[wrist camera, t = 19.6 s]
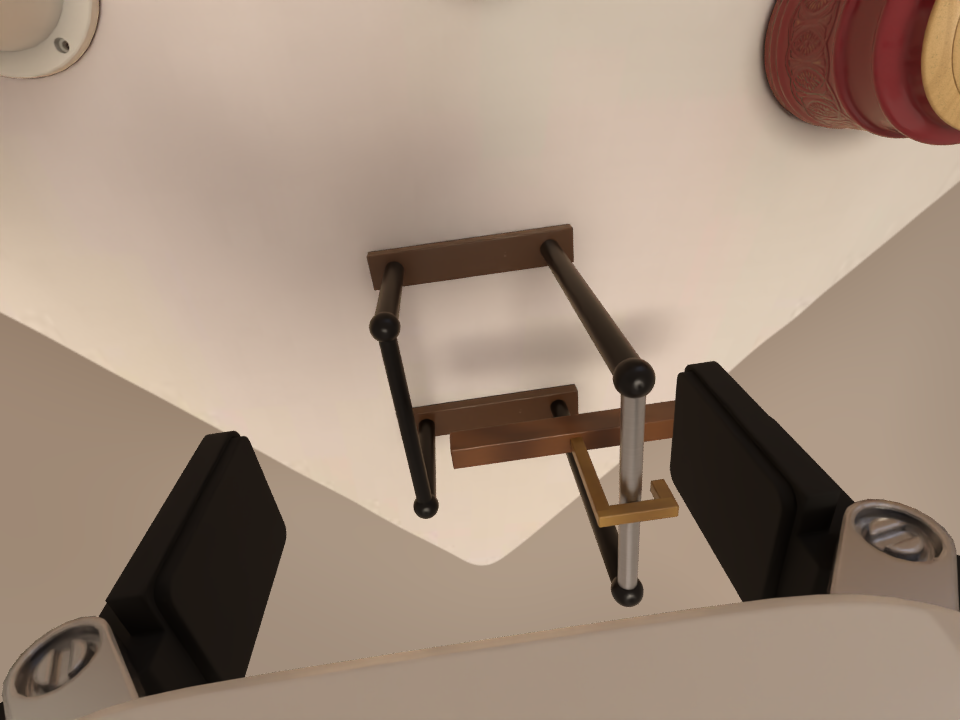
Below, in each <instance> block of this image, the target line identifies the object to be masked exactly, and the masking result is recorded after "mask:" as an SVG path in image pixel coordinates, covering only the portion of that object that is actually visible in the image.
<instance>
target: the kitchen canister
mask: <svg viewBox="0 0 960 720" xmlns="http://www.w3.org/2000/svg"><path fill="white" fill-rule="evenodd" d="M764 58H765V70H766V75H767V79H768V82H769V85H770V88H771V90H772V92H773V94H774V96H775V97H776V99H777V100H778V102H779V103H780V104H781V105H782V106H783V107H784V108H785V109H786V110H787V111H789V112H790V113H791V114H793V115H795V116H796V117H798V118H799V119H801V120H803V121H805V122H807V123H809V124H812V125H815V126H820V127H826V128H834V129H842V128H850V129H857V130H863V131H868V132H870V133H873V134H875V135H878V136H882V137H887V138H910V139H913V140H915V141H918V142H921V143H925V144H930V145H954V144H960V0H777V2H776V4H775V6H774V9H773V12H772V15H771V18H770V21H769V25H768V29H767V34H766V40H765V52H764Z"/></svg>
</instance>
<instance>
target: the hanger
mask: <svg viewBox="0 0 960 720" xmlns="http://www.w3.org/2000/svg"><path fill="white" fill-rule="evenodd" d="M674 411H675V400H674V401H667V402H660V403H653V404H646V405H645V426H644V442H647V441H653V440H661V439H667V438H672V436H673V423H674ZM620 414H621V408H618V409H611V410H604V411H597V412H590V413H583V414H576V415H569V416H562V417H555V418H548V419H541V420H534V421H527V422H520V423H513V424H506V425H499V426H492V427H485V428H478V429H471V430H463V431H456V432H450V449H451V456H452V461H453V467H454V469H457V468H464V467H471V466H478V465H485V464H492V463H499V462H506V461H513V460H520V459H527V458H534V457H541V456H548V455H555V454H562V453H569V452H572V453H573V456H574V459H575V462H576V464H577V467H578V470H579V473H580V476H581V478H582V481H583V484H584V487H585V490H586V492H587V495H588V498H589V501H590V504H591V506H592V509H593V512H594V515H595V518H596V521H597V523H598V526H599V527H607V526H614V525H621V524H628V523H635V522H641V521H648V520H655V519H662V518H670V517H676V516H678V510H679V506H678V504H677V502H676V500H675V498H674V496H673V494H672V493H671V491H670V489H669V488H668V485H667V484H666V482H665V480H664V479H660V480H653V481H651V488H650V491H651V493H652V495H653V497H654V499H652V500H645V501H638V502H631V503H624V504H617V505H610V506H609V504H608V502H607V499H606V497H605V494H604V492H603V489H602V487H601V484H600V482H599V479H598V476H597V474H596V471H595V469H594V466H593V464H592V461H591V459H590V456H589V454H588V451H587V450H590V449H598V448H605V447H612V446H619V445H620Z"/></svg>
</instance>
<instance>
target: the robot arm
mask: <svg viewBox="0 0 960 720" xmlns="http://www.w3.org/2000/svg"><path fill="white" fill-rule="evenodd" d="M98 14H99V0H0V76H4V77H10V78H36V77H44V76H50V75H52V74H55V73H58V72H60V71H63V70H65V69H66V68H68V67H69V66H71V65H72V64H73V63H75V62H76V61H77V60H78V59H79V58H80V57H81V56H82V54H83V53H84V52H85V51H86V49H87V48H88V47H89V44H90V42H91V40H92V37H93V35H94V33H95V31H96V25H97V20H98ZM66 43H68V44H69V49H68V48H67V46H66ZM670 471H671V477H672V480H673V483H674V485H675V486H676V488H677V490H678V492H679V493H680V495H681V496H682V498H683V500H684V502H685V503H686V505H687V507H688V509H689V510H690V512H691V514H692V516H693V517H694V519H695V521H696V523H697V524H698V526H699V528H700V529H701V531H702V533H703V534H704V536H705V538H706V539H707V541H708V543H709V545H710V546H711V548H712V550H713V552H714V553H715V555H716V557H717V559H718V560H719V562H720V564H721V565H722V567H723V569H724V571H725V572H726V574H727V576H728V578H729V579H730V581H731V583H732V584H733V586H734V588H735V589H736V591H737V593H738V595H739V596H740V598H741V600H742V602H740V603H732V604H725V605H717V606H710V607H701V608H694V609H687V610H680V611H673V612H666V613H660V614H653V615H646V616H639V617H632V618H625V619H618V620H612V621H604V622H598V623H591V624H585V625H577V626H570V627H564V628H557V629H550V630H544V631H537V632H530V633H524V634H517V635H510V636H504V637H497V638H491V639H484V640H477V641H471V642H464V643H458V644H451V645H445V646H439V647H432V648H425V649H419V650H412V651H406V652H399V653H393V654H387V655H380V656H374V657H367V658H361V659H355V660H348V661H342V662H336V663H330V664H324V665H317V666H311V667H304V668H298V669H292V670H285V671H279V672H272V673H267V674H261V675H255V676H249V677H245V674H246V671H247V668H248V664H249V661H250V658H251V654H252V651H253V648H254V644H255V641H256V638H257V634H258V631H259V628H260V625H261V621H262V618H263V614H264V611H265V608H266V605H267V601H268V597H269V595H270V591H271V588H272V585H273V581H274V578H275V575H276V571H277V568H278V564H279V561H280V558H281V555H282V551H283V548H284V545H285V541H286V527H285V524H284V521H283V519H282V516H281V514H280V512H279V510H278V507H277V504H276V502H275V500H274V497H273V495H272V493H271V490H270V488H269V486H268V483H267V481H266V479H265V476H264V474H263V471H262V469H261V467H260V464H259V462H258V460H257V457H256V455H255V452H254V450H253V448H252V445H251V443H250V441H249V439H248V438H247V437H246V436H240V435H239V433H237V432H236V431H229V432H222V433H215V434H209V435H206V436H205V437H204V438H203V440H202V441H201V443H200V445H199V446H198V448H197V450H196V451H195V453H194V455H193V456H192V458H191V460H190V461H189V463H188V465H187V466H186V468H185V470H184V471H183V473H182V474H181V476H180V478H179V479H178V481H177V483H176V485H175V486H174V488H173V489H172V491H171V493H170V494H169V496H168V498H167V499H166V501H165V503H164V504H163V506H162V508H161V509H160V511H159V513H158V514H157V516H156V518H155V519H154V521H153V523H152V524H151V526H150V527H149V529H148V531H147V532H146V534H145V536H144V537H143V539H142V541H141V542H140V544H139V546H138V547H137V549H136V551H135V553H134V554H133V556H132V557H131V559H130V561H129V562H128V564H127V566H126V567H125V569H124V571H123V572H122V574H121V576H120V577H119V579H118V581H117V582H116V584H115V585H114V587H113V589H112V590H111V592H110V594H109V595H108V597H107V599H106V602H107V604H106V605H105V607H104V609H103V610H102V612H101V614H100V615H99V617H96V616H89V617H80V618H77V619H74V620H71V621H68V622H65V623H64V624H62V625H60V626H58V627H56V628H54V629H52V630H50V631H49V632H47V633H46V634H45V635H43V636H42V637H40V638H39V639H38V640H36V641H35V642H34V643H33V644H32V645H31V646H30V647H29V648H28V649H26V650H25V651H24V652H23V653H22V654H21V656H20V657H19V658H18V659H17V660H16V662H15V663H14V664H13V666H12V667H11V668H10V670H9V672H8V674H7V676H6V679H5V680H4V683H3V692H2V697H3V702H1V703H0V720H960V556H959V555H957V554H956V548H955V545H954V542H953V539H952V538H951V536H950V535H949V534H948V532H947V531H946V530H945V528H943V527H942V526H941V525H940V524H939V523H937V522H936V521H935V520H933V519H932V518H931V517H929V516H927V515H925V514H924V513H922V512H920V511H918V510H917V509H914V508H912V507H909V506H906V505H903V504H901V503H897V502H892V501H887V500H879V499H876V500H875V499H867V500H862V501H858V502H854V501H853V500H852V499H851V498H850V497H849V496H848V495H847V494H846V493H845V492H844V491H843V490H842V489H841V488H840V487H839V486H838V485H837V484H836V483H835V482H834V481H833V480H832V479H831V477H830V476H829V475H828V474H827V473H826V472H825V471H824V470H823V469H822V468H821V467H820V466H819V465H818V464H817V463H816V462H815V461H814V460H813V459H812V458H811V457H810V456H809V455H808V454H807V453H806V452H805V451H804V450H803V449H802V448H801V446H800V445H799V444H797V442H796V441H794V439H793V438H792V437H791V436H790V435H789V434H788V433H787V432H786V431H785V430H784V429H783V428H782V427H781V426H780V425H779V424H778V423H777V422H776V421H775V420H774V419H773V418H771V417H770V416H768V414H767V413H766V412H765V411H764V410H763V409H762V408H761V407H760V406H759V405H758V404H757V403H756V402H755V401H754V400H753V399H752V398H751V397H750V396H749V395H748V394H747V393H746V392H745V391H744V390H743V388H742V387H741V386H740V385H739V384H737V382H736V381H735V380H734V379H733V378H732V377H731V376H730V375H729V374H728V373H727V372H726V371H725V370H724V369H723V368H722V367H721V366H720V365H719V364H718V363H717V362H715V361H711V362H704V363H697V364H691V365H688V366H686V368H685V372H682V373H679V374H678V377H677V386H676V398H675V411H674V423H673V436H672V448H671V462H670Z"/></svg>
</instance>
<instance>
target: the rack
mask: <svg viewBox="0 0 960 720" xmlns="http://www.w3.org/2000/svg"><path fill="white" fill-rule="evenodd" d="M367 260H368V265H369V269H370V273H371V278H372V282H373V286H374V290H380V293H379V298H378V302H377V307H376V311H375V316H374V317H373V318H372V319H371V321H370V324H369V330H370V333H371V335H372V336H373V338H374V339H376V340H377V341H379V345H380V349H381V353H382V357H383V361H384V365H385V369H386V374H387V378H388V382H389V386H390V390H391V394H392V398H393V403H394V407H395V411H396V415H397V419H398V423H399V428H400V432H401V436H402V440H403V444H404V448H405V452H406V457H407V461H408V465H409V469H410V473H411V477H412V482H413V486H414V490H415V494H416V499H415V501H414V511H415V513H416V514H417V515H418V516H419V517H420V518H423V519H428V518H431V517H433V516H434V515H435V514H436V513H437V511H438V508H439V503H438V500H437V498H436V460H435V436H440V435H447V434H450V432H456V431H463V430H471V429H478V428H485V427H492V426H499V425H506V424H513V423H520V422H527V421H534V420H541V419H548V418H555V417H562V416H569V415H576V414H578V390H577V388H576V386H575V385H567V386H560V387H553V388H546V389H539V390H533V391H526V392H519V393H512V394H505V395H498V396H491V397H484V398H477V399H471V400H464V401H457V402H450V403H443V404H436V405H429V406H422V407H416V408H412V404H411V400H410V395H409V391H408V386H407V382H406V377H405V372H404V368H403V363H402V359H401V354H400V350H399V345H398V341H397V336H398V335H399V333H400V322H399V320H398V319H399V311H400V303H401V294H402V287H403V286H410V285H417V284H424V283H431V282H438V281H445V280H452V279H459V278H466V277H473V276H480V275H487V274H494V273H501V272H508V271H515V270H522V269H529V268H536V267H544V266H549V268H550V269H551V271H552V273H553V274H554V276H555V278H556V280H557V281H558V283H559V285H560V286H561V288H562V290H563V291H564V293H565V295H566V297H567V298H568V300H569V302H570V303H571V305H572V307H573V308H574V310H575V312H576V314H577V315H578V317H579V319H580V320H581V322H582V324H583V325H584V327H585V329H586V331H587V332H588V334H589V336H590V337H591V339H592V341H593V342H594V344H595V346H596V348H597V349H598V351H599V353H600V354H601V356H602V358H603V359H604V361H605V363H606V365H607V366H608V368H609V370H610V371H611V373H612V375H613V383H614V386H615V388H616V390H617V391H618V392H619V393H620V394H621V414H620V472H619V475H620V476H619V477H620V478H619V504H624V503H631V502H638V501H641V490H642V469H643V448H644V447H643V445H644V426H645V405H646V395H647V394H648V393H649V392H650V391H651V390H652V388H653V387H654V384H655V373H654V370H653V368H652V367H651V365H650V364H649V363H648V362H646V361H645V360H643V359H641V358H640V357H639V356H638V354H637V353H636V351H635V350H634V349H633V347H632V346H631V345H630V343H629V342H628V340H627V339H626V338H625V336H624V335H623V333H622V332H621V331H620V329H619V328H618V326H617V325H616V324H615V322H614V321H613V319H612V318H611V317H610V315H609V314H608V312H607V311H606V310H605V308H604V307H603V305H602V304H601V303H600V301H599V300H598V298H597V297H596V296H595V294H594V293H593V291H592V290H591V289H590V287H589V286H588V284H587V283H586V282H585V280H584V279H583V277H582V276H581V275H580V273H579V272H578V270H577V269H576V268H575V266H574V265H573V263H572V262H574V254H573V228H572V227H571V225H570V224H566V225H558V226H551V227H544V228H537V229H530V230H523V231H516V232H509V233H502V234H495V235H487V236H480V237H473V238H466V239H459V240H452V241H445V242H438V243H431V244H423V245H416V246H409V247H402V248H395V249H388V250H381V251H374V252H368V255H367ZM566 455H567V458H568V461H569V463H570V466H571V469H572V472H573V475H574V478H575V481H576V483H577V486H578V489H579V492H580V495H581V497H582V500H583V503H584V506H585V509H586V512H587V515H588V517H589V520H590V523H591V526H592V529H593V532H594V535H595V538H596V540H597V543H598V546H599V549H600V552H601V555H602V557H603V560H604V563H605V566H606V569H607V572H608V575H609V577H610V580H611V583H612V584H611V592H612V595H613V597H614V599H615V600H616V601H617V602H618V603H619V604H620V605H622V606H625V607H633V606H635V605H637V604H638V603H639V602H640V601H641V600H642V597H643V586H642V584H641V582H640V581H639V579H638V554H639V534H640V522H635V523H628V524H621V525H619V529H618V532H617V530H616V527H615V525H614V526H607V527H599V526H598V523H597V521H596V518H595V515H594V512H593V509H592V506H591V504H590V501H589V498H588V495H587V492H586V490H585V487H584V484H583V481H582V478H581V476H580V473H579V470H578V467H577V464H576V462H575V459H574V456H573V453H572V452H569V453H566Z"/></svg>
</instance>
